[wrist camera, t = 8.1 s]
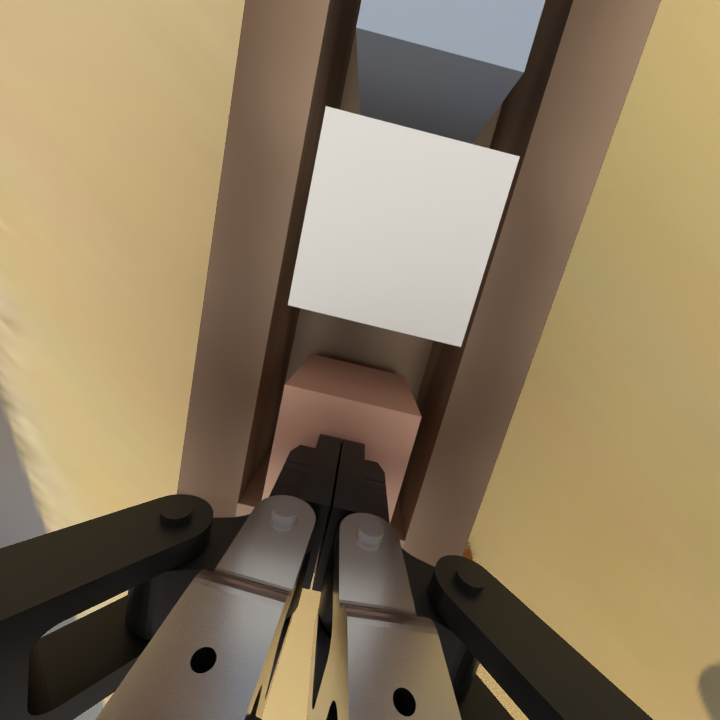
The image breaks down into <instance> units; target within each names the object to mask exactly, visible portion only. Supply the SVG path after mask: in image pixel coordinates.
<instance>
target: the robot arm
mask: <svg viewBox="0 0 720 720" xmlns="http://www.w3.org/2000/svg"><path fill="white" fill-rule="evenodd" d="M340 445H341V438H337V437H332V436H328V435H324V434H320V436H319V439H318V442H317V445H316V448H313V447H308V446H304V445H299V446H298V447H296V448H294V449H293V450H291V451H290V453H289V455H288V457H287V459H286V462H285V464H284V466H283V468H282V470H281V472H280V474H279V476H278V478H277V481H276V483H275V485H274V487H273V489H272V491H271V493H270V496H269V497H268V498H265V499H263V500H261V501H260V502H259V503H258V504H257V505H256V506H255V508H254V509H253V511H252V512H251V514H248V515H244V516H239V517H220V518H213V515H214V514H213V509H212V507H211V505H210V504H209V503H208V502H207V501H206V500H204V499H202V498H200V497H197V496H193V495H187V494H177V495H169V496H165V497H161V498H158V499H155V500H152V501H149V502H146V503H142V504H139V505H136V506H133V507H130V508H127V509H123V510H120V511H117V512H114V513H111V514H108V515H105V516H101V517H98V518H95V519H92V520H89V521H86V522H83V523H79V524H76V525H73V526H70V527H67V528H64V529H60V530H57V531H54V532H51V533H48V534H45V535H42V536H38V537H35V538H32V539H29V540H26V541H23V542H20V543H16V544H14V545H10V546H7V547H4V548H1V549H0V720H73V719H74V718H76V717H77V716H79V715H80V714H82V713H83V712H85V711H86V710H88V709H89V708H91V707H92V706H94V705H95V704H97V703H98V702H100V701H101V700H103V699H104V698H106V697H107V696H109V695H110V694H112V693H113V692H114V694H113V695H112V697H111V698H110V699H109V701H108V702H107V704H106V705H105V707H104V708H103V709H102V711H101V713H100V714H99V716H98V717H97V718H96V720H262V719H261V718H262V715H263V711H264V708H265V705H266V702H267V698H268V695H269V692H270V689H271V685H272V682H273V679H274V676H275V672H276V669H277V666H278V663H279V659H280V656H281V653H282V650H283V646H284V643H285V640H286V637H287V633H288V630H289V627H290V624H291V620H292V616H293V613H294V611H295V610H296V608H297V606H298V603H299V600H300V596H301V591H302V588H306V589H310V585H311V581H312V577H313V573H314V569H315V565H316V561H317V566H316V571H315V577H314V582H313V588H312V590H316V591H320V592H321V597H320V604H319V608H318V612H317V616H316V619H315V624H314V633H313V646H312V658H311V671H310V683H309V696H308V708H307V720H514V719H513V718H512V716H511V715H510V714H509V713H508V712H507V710H506V709H505V708H504V707H503V706H502V704H501V703H500V702H499V701H498V700H497V698H496V697H495V696H494V695H493V694H492V692H491V691H490V690H489V689H488V688H487V686H486V685H485V684H484V683H483V682H482V680H481V679H480V678H479V677H478V676H477V674H476V671H477V669H478V666H479V664H480V663H481V664H482V666H483V667H484V668H485V669H486V670H487V671H488V673H489V674H490V675H491V676H492V677H493V678H494V679H495V681H496V682H497V683H498V684H499V685H500V686H501V688H502V689H503V690H504V691H505V692H506V693H507V694H508V696H509V697H510V698H511V699H512V700H513V701H514V703H515V704H516V705H517V706H518V707H519V708H520V709H521V711H522V712H523V713H524V714H525V715H526V716H527V718H528V719H529V720H653V719H652V718H651V717H650V716H649V715H647V714H646V713H645V712H644V711H643V710H642V709H641V708H640V707H638V706H637V705H636V704H635V703H634V702H633V701H632V700H631V699H630V698H628V697H627V696H626V695H625V694H624V693H623V692H622V691H621V690H620V689H618V688H617V687H616V686H615V685H614V684H613V683H612V682H611V681H609V680H608V679H607V678H606V677H605V676H604V675H603V674H602V673H601V672H599V671H598V670H597V669H596V668H595V667H594V666H593V665H592V664H591V663H589V662H588V661H587V660H586V659H585V658H584V657H583V656H582V655H580V654H579V653H578V652H577V651H576V650H575V649H574V648H573V647H572V646H570V645H569V644H568V643H567V642H566V641H565V640H564V639H563V638H562V637H560V636H559V635H558V634H557V633H556V632H555V631H554V630H553V629H551V628H550V627H549V626H548V625H547V624H546V623H545V622H544V621H543V620H541V619H540V618H539V617H538V616H537V615H536V614H535V613H534V612H533V611H531V610H530V609H529V608H528V607H527V606H526V605H525V604H524V603H522V602H521V601H520V600H519V599H518V598H517V597H516V596H515V595H514V594H512V593H511V592H510V591H509V590H508V589H507V588H506V587H505V586H504V585H502V584H501V583H500V582H499V581H498V580H497V579H496V578H495V577H493V576H492V575H491V574H490V573H489V572H488V571H487V570H486V569H484V568H483V567H482V566H480V565H479V564H477V563H476V562H474V561H472V560H470V559H468V558H465V557H462V556H458V555H446V556H443V557H441V558H440V559H439V560H438V561H437V563H436V566H435V567H434V566H432V565H430V564H428V563H426V562H424V561H422V560H419V559H417V558H416V557H414V556H412V555H410V554H409V553H408V552H406V551H405V550H404V549H403V548H402V547H401V543H400V539H399V536H398V534H397V532H396V530H395V529H394V528H393V527H392V526H391V525H390V522H389V512H388V501H387V494H386V492H387V491H386V485H385V484H386V480H385V472H384V471H383V469H382V468H381V466H380V465H379V464H378V462H374V461H369V460H365V444H363V443H359V442H354V441H350V440H346V439H343V441H342V445H341V449H340ZM339 451H340V453H339ZM318 553H319V555H318ZM317 557H318V560H317ZM127 590H128V595H127V596H125V597H123V598H121V599H119V600H117V601H115V602H113V603H111V604H109V605H107V606H105V607H103V608H101V609H99V610H96V611H94V612H92V613H90V614H88V615H86V616H84V617H82V618H80V619H78V620H76V621H74V622H72V623H70V624H68V625H66V626H64V627H62V628H60V629H58V630H56V631H54V632H52V633H50V634H48V635H46V636H44V637H42V635H44V634H45V633H46V632H47V631H48V630H50V629H51V628H53V627H54V626H56V625H57V624H59V623H61V622H62V621H64V620H67V619H69V618H71V617H73V616H75V615H77V614H79V613H81V612H83V611H85V610H87V609H89V608H91V607H94V606H96V605H98V604H100V603H102V602H104V601H106V600H108V599H110V598H112V597H114V596H116V595H118V594H120V593H123V592H125V591H127ZM41 637H42V638H41Z"/></svg>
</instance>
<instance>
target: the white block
mask: <svg viewBox="0 0 720 720" xmlns="http://www.w3.org/2000/svg"><path fill="white" fill-rule="evenodd" d="M519 158H520V156H516V155H512V154H508V153H504V152H501V151H497V150H493V149H489V148H485V147H481V146H477V145H474V144H470V143H466V142H462V141H458V140H454V139H450V138H447V137H443V136H439V135H435V134H431V133H427V132H424V131H420V130H416V129H412V128H408V127H404V126H400V125H397V124H393V123H389V122H385V121H381V120H377V119H373V118H370V117H366V116H362V115H358V114H354V113H350V112H347V111H343V110H339V109H335V108H331V107H327V106H326V108H325V113H324V118H323V124H322V129H321V134H320V139H319V144H318V150H317V155H316V160H315V165H314V170H313V176H312V181H311V186H310V191H309V197H308V202H307V207H306V212H305V217H304V223H303V228H302V233H301V238H300V243H299V249H298V254H297V259H296V264H295V270H294V275H293V280H292V285H291V290H290V296H289V301H288V305H289V306H294V307H298V308H302V309H306V310H310V311H314V312H318V313H322V314H327V315H331V316H335V317H339V318H343V319H347V320H351V321H355V322H360V323H364V324H368V325H372V326H376V327H380V328H384V329H388V330H393V331H397V332H401V333H405V334H409V335H413V336H417V337H421V338H426V339H430V340H434V341H438V342H442V343H446V344H450V345H454V346H459V347H461V346H462V342H463V339H464V336H465V333H466V329H467V326H468V323H469V320H470V316H471V313H472V310H473V307H474V303H475V300H476V297H477V294H478V290H479V287H480V284H481V281H482V278H483V274H484V271H485V268H486V265H487V261H488V258H489V255H490V252H491V248H492V245H493V242H494V239H495V235H496V232H497V229H498V226H499V222H500V219H501V216H502V213H503V210H504V206H505V203H506V200H507V197H508V193H509V190H510V187H511V184H512V180H513V177H514V174H515V171H516V167H517V164H518V161H519Z"/></svg>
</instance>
